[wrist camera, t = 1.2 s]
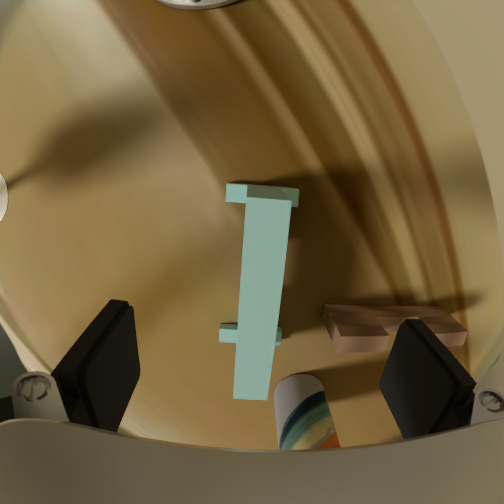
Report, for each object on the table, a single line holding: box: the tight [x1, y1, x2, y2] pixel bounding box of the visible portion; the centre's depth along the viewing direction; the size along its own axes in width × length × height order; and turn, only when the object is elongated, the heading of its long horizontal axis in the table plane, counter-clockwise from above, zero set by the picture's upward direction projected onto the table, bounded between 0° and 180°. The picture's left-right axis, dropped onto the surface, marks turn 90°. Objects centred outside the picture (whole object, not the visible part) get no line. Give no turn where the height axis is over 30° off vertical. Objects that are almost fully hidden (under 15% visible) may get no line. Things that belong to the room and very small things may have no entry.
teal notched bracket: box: [219, 183, 299, 400], centre depth 24 cm, size 15×6×9 cm, turn 176°
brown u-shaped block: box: [323, 304, 468, 353], centre depth 27 cm, size 14×2×6 cm, turn 86°
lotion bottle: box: [274, 374, 340, 450], centre depth 24 cm, size 6×6×20 cm
